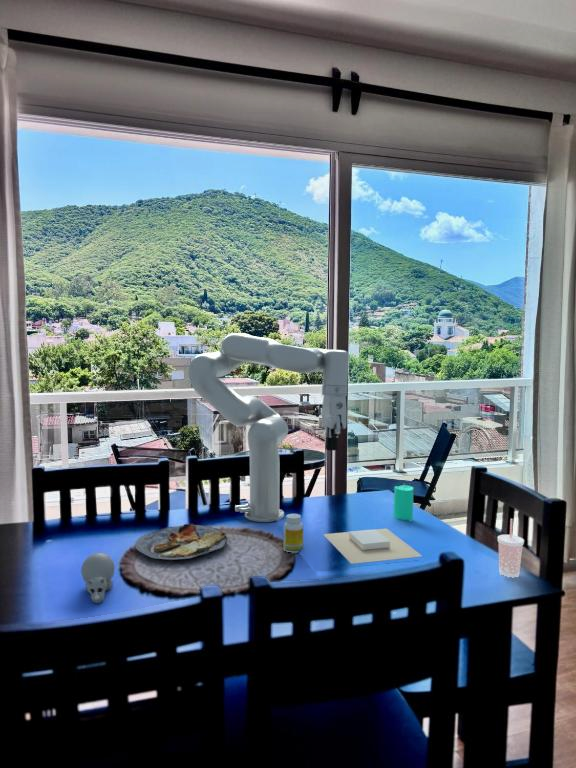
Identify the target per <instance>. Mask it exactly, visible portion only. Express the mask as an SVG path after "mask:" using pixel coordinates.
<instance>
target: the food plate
mask: <svg viewBox="0 0 576 768" xmlns="http://www.w3.org/2000/svg"><path fill="white" fill-rule="evenodd" d="M228 539H229V538H228V537H227V533H226V532H223V531H222V530H220V529H218V528H216V527H212V526H208V525H207V526H206V525H199V524H194V523H190V524H189V523H185V524H183V525H178V526H168V527H164V528H161V529H157V530H154V531H152V532H148V533H145V534H143V535H141V536H139V537H138V538H137V540H136V541H135V544H134V547H135V549H136V551H138V552H139V553H141V554H143V555H145V556H147V557H150V558H151V559H158V560H160V559H161V560H168V561H173V560H186V559H193V558H195V557H198V556H201V555H206V554H209V553H210V552H211V553H212V552H214V551H216V550H219V549H220V550H221V549H222V548H224V547H225V546H226V545H227V542H228ZM152 548H153V552H154V553H153V552H152ZM158 554H160V555H158Z"/></svg>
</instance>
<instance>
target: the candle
mask: <svg viewBox="0 0 576 768" xmlns="http://www.w3.org/2000/svg"><path fill="white" fill-rule="evenodd" d="M414 489H415V488H414V487H413V486H411V485H406V484H403V485H399V486H398V485H397V486H394V488H393V490H394V492H393V518H395V519H397V520H404V521H409V522H410V523H412V522H413V520H414V519H413V518H414V517H413V516H414Z"/></svg>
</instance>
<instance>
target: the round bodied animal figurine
mask: <svg viewBox="0 0 576 768" xmlns="http://www.w3.org/2000/svg"><path fill="white" fill-rule="evenodd" d="M80 573H81V577H82V579H83V581H84V582H85V590H86V591H87V592H88V593H89V594H90V595H91V596H90V597H91V601H92V602H93V603H95V604H99V603H101V602H103V601H104V599H105V593H106V592H107V591H110V590H111V589H112V588H113V581H112V578H113V577H114V573H115V562H114V561H113V559H112V557H111V556H109V555H108V554H106V553H104V552H95V553H93V554H90V555H89V556H87V557H86V558H85V560H84V561H83V563H82V565H81V570H80Z"/></svg>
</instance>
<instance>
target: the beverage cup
mask: <svg viewBox="0 0 576 768" xmlns="http://www.w3.org/2000/svg"><path fill="white" fill-rule="evenodd" d="M509 523H510V524H509V534H501V535H498V536H497V542H498V569H499V571H498V572H500V573H499V575H501V574H502V575H504V576H503V577H505V576H507V577H506V578H509V577H512V578H511V579H515V578H514V577H517V578H519V577H520V572H521V571H520V570H521V562H522V554H523V553H522V552H523V545H524V544H525V539H524V538H523V537H521V536H518V535H513V518H510V521H509ZM502 575H501V576H502Z"/></svg>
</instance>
